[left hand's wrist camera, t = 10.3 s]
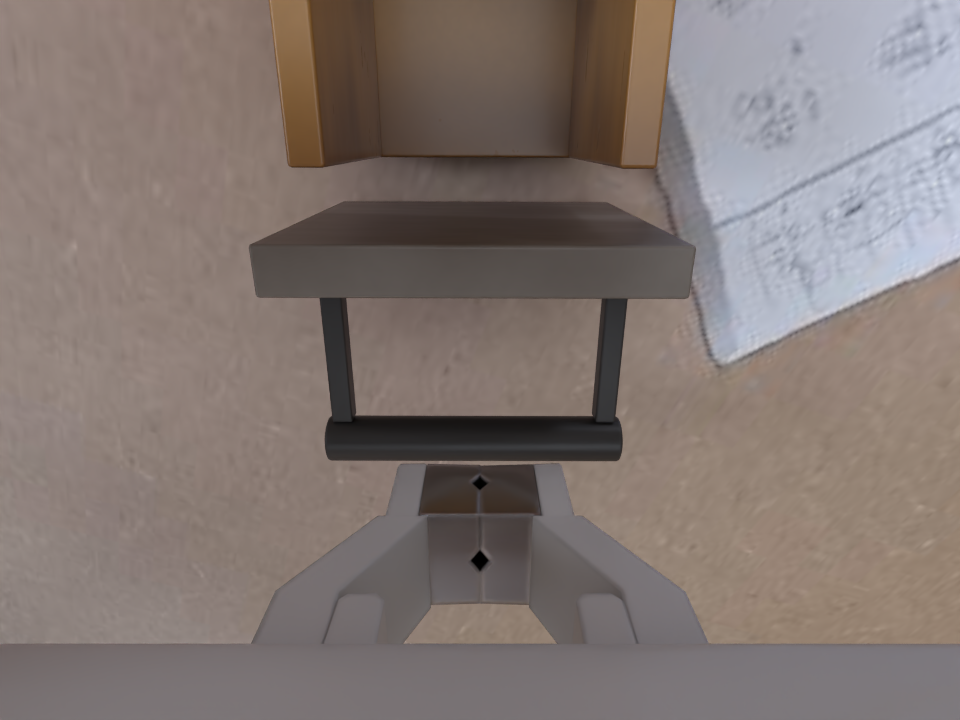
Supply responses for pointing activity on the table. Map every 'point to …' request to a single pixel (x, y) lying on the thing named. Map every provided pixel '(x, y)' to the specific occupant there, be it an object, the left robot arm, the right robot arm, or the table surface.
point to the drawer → (472, 225)
